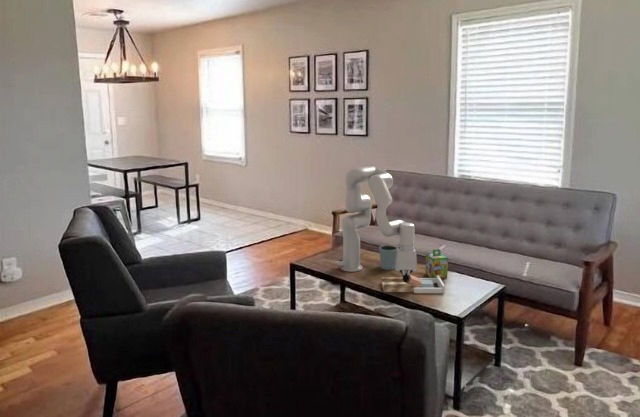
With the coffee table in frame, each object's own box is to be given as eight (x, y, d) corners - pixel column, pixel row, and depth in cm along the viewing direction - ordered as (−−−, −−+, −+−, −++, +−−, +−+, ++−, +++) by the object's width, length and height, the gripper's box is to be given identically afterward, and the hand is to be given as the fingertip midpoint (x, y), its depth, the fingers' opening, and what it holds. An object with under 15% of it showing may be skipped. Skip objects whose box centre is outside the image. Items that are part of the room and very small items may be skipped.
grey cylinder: (397, 270, 286) (398, 250, 283) (379, 270, 286) (380, 250, 284) (395, 264, 296) (395, 245, 293) (378, 264, 296) (378, 245, 293)
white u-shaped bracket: (414, 293, 252) (414, 285, 251) (409, 282, 267) (409, 275, 266) (444, 293, 252) (444, 285, 251) (438, 282, 266) (438, 275, 265)
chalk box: (432, 279, 271) (433, 253, 268) (424, 274, 280) (425, 248, 277) (447, 277, 273) (449, 251, 270) (439, 272, 282) (440, 247, 279)
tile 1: (408, 284, 256) (411, 278, 255) (407, 280, 262) (409, 274, 261) (419, 288, 256) (422, 282, 255) (417, 284, 262) (420, 278, 261)
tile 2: (421, 290, 256) (421, 283, 256) (419, 286, 262) (419, 279, 261) (433, 290, 256) (433, 284, 255) (431, 286, 262) (431, 279, 261)
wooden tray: (383, 291, 254) (383, 285, 253) (381, 283, 266) (381, 277, 265) (413, 291, 253) (413, 285, 253) (410, 283, 265) (410, 277, 264)
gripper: (392, 249, 251) (391, 284, 255) (422, 249, 251) (421, 284, 255) (391, 245, 259) (390, 279, 263) (420, 245, 258) (419, 279, 262)
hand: (405, 281), depth 259 cm, fingers closed
